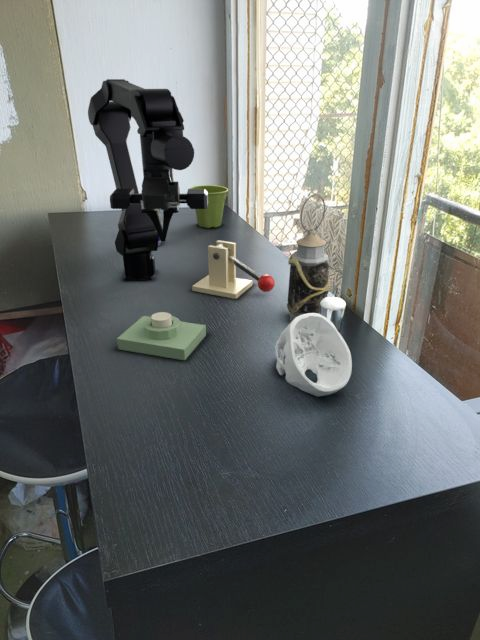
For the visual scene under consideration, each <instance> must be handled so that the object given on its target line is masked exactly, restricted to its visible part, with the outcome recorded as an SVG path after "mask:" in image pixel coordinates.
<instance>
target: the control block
mask: <svg viewBox="0 0 480 640" xmlns="http://www.w3.org/2000/svg"><path fill="white" fill-rule="evenodd" d="M171 319H172V325H171V326H169V327H166V328H154V327H152V322H151V316H147V315H142V316H141V317H140V318H139V319H138V320H137V321H136V322H134V323H133V324H132V325H130V326H129V327H128V329H126V330H125V331H123V333H121V334H120V335H119V336H118V337H117V338H116V343H117V350H119V351H120V350H121V351H125V352H126V351H127V352H133V353H138V354H145V355H149V356H155V357H156V356H157V357H161V358H162V357H163V358H169V359H174V360H179V361H186V360H187V359H188V357H189V356H191V354H192V353H193V352H194V350H195V349H196V348H197V347H198V346H199V345H200V344H201V342H202V341H203V340H204V338H205V337H206V336H207V328H206V327H207V326H206V324H200V323H192V322H187V321H181V320H180V319H179V318H178V317H176V316H173V315H171Z"/></svg>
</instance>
